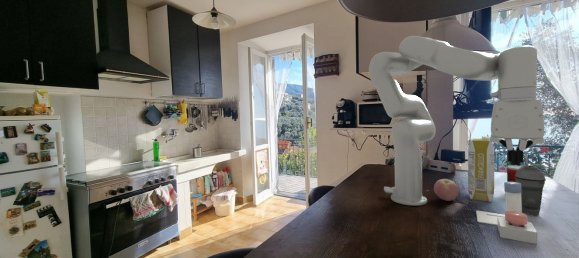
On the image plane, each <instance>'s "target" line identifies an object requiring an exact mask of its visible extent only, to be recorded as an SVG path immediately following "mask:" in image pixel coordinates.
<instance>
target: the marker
mask: <svg viewBox="0 0 579 258" xmlns="http://www.w3.org/2000/svg"><path fill="white" fill-rule="evenodd" d="M503 187H504V190H503V191H504V197H505V198H504V199H505V201H504V202H505V212H506V211H515V212H520V213H522V202H521V184H520V183H517V182H507V181H504V182H503Z"/></svg>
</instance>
